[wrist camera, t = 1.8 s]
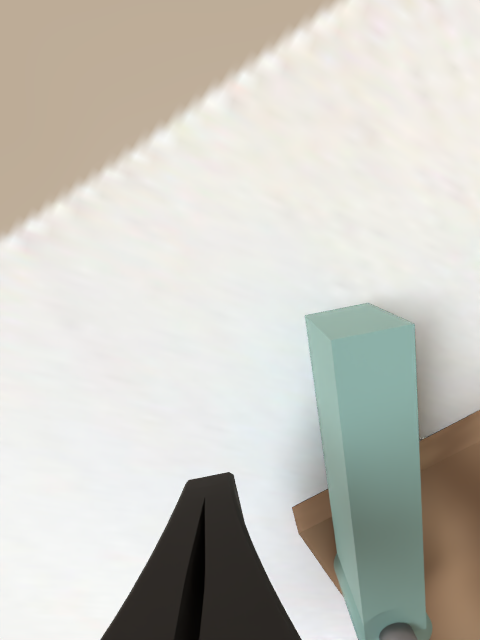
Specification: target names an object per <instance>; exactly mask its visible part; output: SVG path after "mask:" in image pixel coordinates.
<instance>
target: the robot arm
mask: <svg viewBox="0 0 480 640" xmlns="http://www.w3.org/2000/svg"><path fill="white" fill-rule="evenodd" d="M101 640H301V638H300V636H299V634H298V633H297V631H296V629H295V627H294V625H293V624H292V622H291V620H290V618H289V617H288V615H287V613H286V611H285V609H284V607H283V605H282V604H281V602H280V600H279V598H278V596H277V594H276V592H275V590H274V588H273V586H272V584H271V582H270V580H269V578H268V576H267V574H266V572H265V570H264V568H263V566H262V563H261V561H260V559H259V557H258V555H257V553H256V550H255V548H254V546H253V543H252V541H251V538H250V536H249V533H248V531H247V528H246V525H245V523H244V518H243V514H242V510H241V505H240V501H239V497H238V492H237V488H236V484H235V479H234V475H233V474H231V473H230V472H227V473H222V474H217V475H212V476H207V477H202V478H197V479H192V480H188V482H187V483H186V484H185V487H184V489H183V491H182V494H181V496H180V498H179V500H178V502H177V505H176V507H175V509H174V511H173V513H172V515H171V517H170V519H169V522H168V524H167V526H166V528H165V530H164V532H163V533H162V535H161V537H160V539H159V541H158V543H157V545H156V547H155V549H154V551H153V553H152V555H151V557H150V558H149V560H148V562H147V564H146V566H145V567H144V569H143V571H142V573H141V574H140V576H139V578H138V580H137V581H136V583H135V585H134V587H133V588H132V590H131V592H130V594H129V595H128V597H127V599H126V600H125V602H124V604H123V605H122V607H121V608H120V610H119V612H118V613H117V615H116V616H115V618H114V620H113V621H112V623H111V624H110V626H109V627H108V629H107V630H106V632H105V634H104V635H103V637H102V638H101Z"/></svg>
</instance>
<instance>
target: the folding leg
mask: <svg viewBox="0 0 480 640" xmlns="http://www.w3.org/2000/svg"><path fill="white" fill-rule="evenodd" d="M305 320H306V327H307V335H308V342H309V349H310V357H311V364H312V372H313V379H314V386H315V394H316V401H317V409H318V416H319V423H320V431H321V438H322V445H323V453H324V460H325V468H326V475H327V482H328V490H329V497H330V505H331V512H332V519H333V527H334V534H335V542H336V549H337V554H336V556H335V559H334V570H335V573H336V575H337V578H338V581H339V584H340V587H341V590H342V593H343V596H344V599H345V602H346V605H347V608H348V611H349V614H350V617H351V620H352V623H353V626H354V629H355V632H356V635H357V638H358V640H429V639H430V637H431V634H432V623H431V620H430V618H429V616H428V615H427V613H426V606H425V580H424V555H423V529H422V504H421V478H420V453H419V427H418V402H417V376H416V351H415V325H414V323H412V322H409V321H407V320H405V319H403V318H400V317H398V316H396V315H394V314H392V313H389V312H387V311H385V310H383V309H381V308H378V307H376V306H374V305H372V304H370V303H366V304H360V305H355V306H350V307H345V308H340V309H335V310H330V311H325V312H319V313H314V314H309V315H305Z"/></svg>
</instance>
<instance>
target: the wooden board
mask: <svg viewBox="0 0 480 640" xmlns="http://www.w3.org/2000/svg"><path fill="white" fill-rule="evenodd" d="M419 453H420V478H421V504H422V529H423V555H424V580H425V606H426V613H427V615H428V616H429V618H430V620H431V623H432V634H431V637H430V639H429V640H480V410H479V411H477V412H475V413H473V414H471V415H469V416H467V417H466V418H464V419H462V420H460V421H458V422H456V423H454V424H452V425H450V426H448V427H446V428H444V429H442V430H441V431H439V432H437V433H435V434H433V435H431V436H429V437H427V438H425V439H423V440H421V441H419ZM292 510H293V513H294V517H295V521H296V525H297V529H298V533H299V535H300V536H301V537H302V539H303V540H304V542H305V543H306V544H307V546H308V547H309V549H310V550H311V552H312V553H313V554H314V556H315V557H316V559H317V560H318V562H319V563H320V564H321V566H322V567H323V569H324V570H325V571H326V573H327V574H328V576H329V577H330V579H331V580H332V581H333V583H334V584H335V586H336V587H337V589H338V590H339V591H340V593H341V594H342V596H343V593H342V590H341V587H340V584H339V581H338V578H337V575H336V573H335V570H334V559H335V556H336V554H337V549H336V542H335V534H334V527H333V519H332V512H331V505H330V497H329V490H328V489H327V490H325V491H323V492H321V493H319V494H317V495H315V496H313V497H311V498H310V499H308V500H306V501H304V502H302V503H300V504H298V505H296V506H294V507H292ZM343 597H344V596H343Z"/></svg>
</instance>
